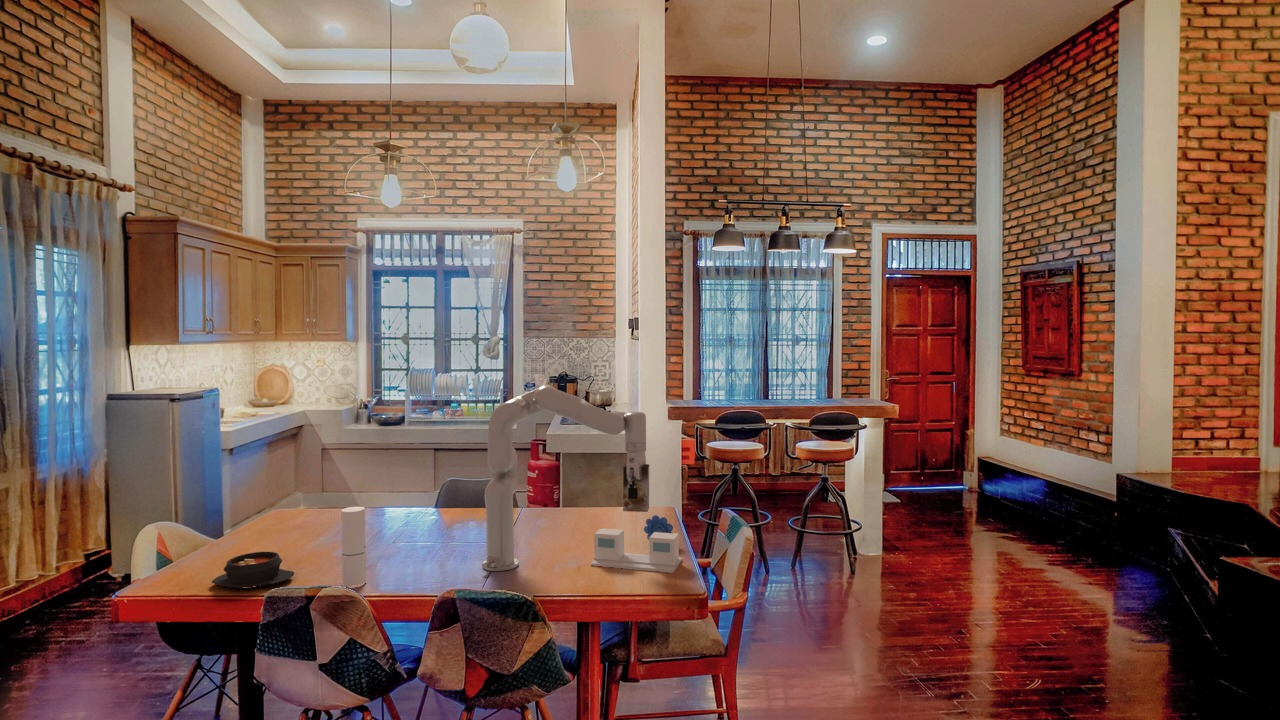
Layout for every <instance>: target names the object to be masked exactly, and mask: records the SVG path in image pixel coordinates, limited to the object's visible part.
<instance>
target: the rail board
mask: <svg viewBox="0 0 1280 720" xmlns="http://www.w3.org/2000/svg"><path fill="white" fill-rule="evenodd" d="M679 535H680V534H679V533H674V532H672V533H660V532H654V533H653V534H652V535H651V536H650V537H649V540H648V546H649V548H648V551H649V554H641V553H633V552H632V553H631V552H625V530H624V529H616V528H615V529H614V528H599V529H598V530H596V532H595V533H594V534H593V536H594V541H593V542H594V547H593V548H594V558H593V560H592V561H591V562H590V565H593V566H592V567H598V566H602V567H601V568H609V567H614V568H613V569H621V568H623V570H632V569H633V570H634V571H635V570H636V571H646V572H655V571H660V572H659V573H667V572H668V573H670V574H674V572H676V569H677V568H678V566H680V564H681V562H682V560H683V559H682V557H680V556H679V555H680V550H679V549H680V548H679V546H680V544H679V543H680V542H679V538H680V536H679ZM668 573H667V574H668Z"/></svg>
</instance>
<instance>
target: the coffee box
mask: <svg viewBox="0 0 1280 720" xmlns="http://www.w3.org/2000/svg"><path fill="white" fill-rule="evenodd" d="M622 467H623V470H622V471H623V477H622V479H623V480H622V481H623V483H622V484H623V485H622V487H623V488H622V489H623V491H622V492H623V494H622V498H623V499H622V511H623V512H632V513H633V512H635V513H636V512H637V513H649V510H650V464H649V463H646V464H645V465H644V466H642V467H641V480H638V479H637V486H636V488H637V499H629V498H628V479H627V463H625V464H624V465H623V466H622ZM632 479H636V477H633V478H632ZM634 484H635V481H634Z"/></svg>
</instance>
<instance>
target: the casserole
mask: <svg viewBox="0 0 1280 720" xmlns="http://www.w3.org/2000/svg"><path fill="white" fill-rule="evenodd" d="M282 563H283V558H282V557H280V555H279V554H278V553H277V552H274V551H257V552H250V553H244V554H240V555H238V556H235V557H232V558H230V559H229V560H228V561H227V562H226V565H225V566H224V567H223V571H224V572H225V573H223V574H221V575H220V574H219V575H218V576H216V577H215V578H214V579H212V581H211V583H212V584H213V583H215V584H214V585H216V584H221V585H220V586H223V585H224V586H223V587H225V586H227V587H226V588H230V587H236V588H235V589H239V588H243V587H253V586H260V585H264V586H269V584H270V585H276V584H275V583H277V584H279V582H280V583H283V582H285V581H287V580H289V579H291V578H292V577H293V576H294V575H295V572H294V571H292V570H286V569H282V568H280V567H281V564H282ZM282 581H283V582H282ZM260 587H261V586H260Z"/></svg>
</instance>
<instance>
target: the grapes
mask: <svg viewBox="0 0 1280 720" xmlns="http://www.w3.org/2000/svg"><path fill="white" fill-rule="evenodd" d="M645 524H646V525H645V526H644V528H643V531H644V532H645V534H647V536H646V537H647V540H648V541H649V537H650V536H651V535H652V534H653V533H654V532H660V533H673V532H672V531H673V529H674V526H673V524H671V523H670V522H669V523H668V518H666V517H664V516H661V517H659V516H658V515H656V514H654V515H652V517H651V518H647V519H645Z"/></svg>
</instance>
